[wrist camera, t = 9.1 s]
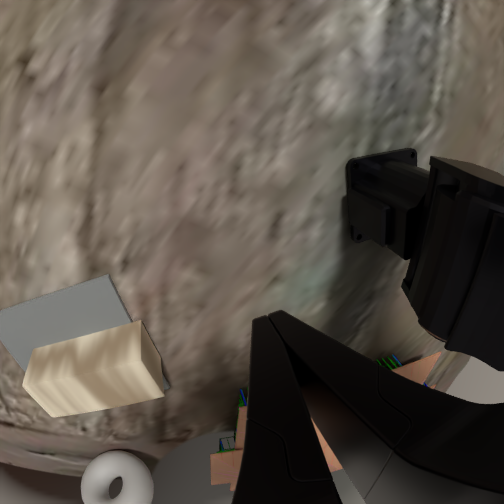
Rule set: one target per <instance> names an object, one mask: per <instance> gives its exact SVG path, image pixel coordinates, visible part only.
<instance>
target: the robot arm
mask: <svg viewBox="0 0 504 504" xmlns="http://www.w3.org/2000/svg"><path fill="white" fill-rule="evenodd" d="M411 153H412V154H411ZM410 154H411V156H410ZM355 163H356V167H355V168H354V169H353V165H354V164H355ZM429 165H431V167H430V171H427V170H425V169H422V168H419V167H417V152H416V150H415V149H412V148H405V149H399V150H394V151H388V152H383V153H377V154H372V155H367V156H362V157H357V158H352V159H350V160H349V161H348V163H347V173H348V187H349V190H348V208H349V223H350V224H351V239H352V240H353V241H354V242H356V243H360V242H363V241H366V240H369V239H372V240H373V241H375V242H376V243H377V244H379V245H380V246H382V247H386V246H387V247H388V248H389V249H391V250H392V251H393V252H395V253H396V254H397V255H399V256H400V257H401V258H403V259H404V260H408V259H410V258H411V259H410V263H409V266H408V270H407V273H406V277H405V278H404V279H403V282H402V285H401V288H402V289H403V291H404V293H405V295H406V296H407V298H408V300H409V302H410V304H411V306H412V308H413V309H414V311H415V313H416V315H417V316H418V318H419V319H418V323H419V324H420V326H421V327H423V328H424V329H425V330H426V331H427V332H428V333H429V334H430V335H432V336H433V337H434V338H436V339H438V340H440V341H442V342H445V343H446V344H445V346H444V348H445V349H446V350H449V351H455V352H462V353H465V354H467V355H470V356H473V357H475V358H477V359H479V360H481V361H483V362H485V363H486V364H488V365H489V366H491V367H493V368H494V369H496V370H498V371H504V176H503V175H501V174H500V173H498V172H495V171H493V170H490V169H487V168H484V167H481V166H478V165H476V164H472V163H468V162H463V161H458V160H452V159H447V158H441V157H435V156H430V163H429ZM358 234H359V236H358V237H357V235H358ZM356 237H357V238H356ZM311 418H312V419H311ZM246 419H247V420H246V426H245V438H244V447H243V454H242V460H241V465H240V470H239V475H238V479H237V483H236V487H235V492H234V495H233V499H232V503H231V504H343V503H342V501H341V499H340V497H339V494H338V492H337V489H336V487H335V484H334V482H333V478H332V475H331V472H330V469H329V467H328V464H327V461H326V458H325V455H324V453H323V450H322V447H321V444H320V441H319V438H318V436H317V433H316V430H315V427H314V424H313V422H312V420H313V421H314V423H315V425H316V426H317V428H318V429H319V431H320V433H321V434H322V436H323V437H324V439H325V441H326V442H327V444H328V445H329V447H330V449H331V450H332V452H333V453H334V455H335V456H336V458H337V460H338V461H339V463H340V464H341V466H342V467H343V469H344V470H345V472H346V474H347V475H348V476H349V478H350V480H351V481H352V483H353V484H354V486H355V487H356V489H357V490H358V492H359V493H360V495H361V496H362V498H363V499H365V500H364V501H365V503H366V504H504V403H498V404H478V403H473V402H469V401H466V400H463V399H460V398H457V397H454V396H451V395H449V394H446V393H443V392H440V391H438V390H435V389H432V388H430V387H427V386H424V385H422V384H419V383H417V382H415V381H412V380H410V379H408V378H405V377H403V376H401V375H399V374H397V373H395V372H393V371H391V370H389V369H388V368H386V367H384V366H382V365H378V363H376V362H374V361H372V360H371V359H369V358H367V357H365V356H363V355H361V354H360V353H358V352H356V351H354V350H352V349H350V348H349V347H347V346H345V345H343V344H341V343H340V342H338V341H336V340H334V339H332V338H331V337H329V336H327V335H325V334H323V333H322V332H320V331H318V330H316V329H315V328H313V327H311V326H309V325H307V324H306V323H304V322H302V321H300V320H299V319H297V318H295V317H293V316H292V315H290V314H288V313H287V312H285V311H283V310H278V311H276V312H273V313H270V314H268V316H266V315H264V316H261V317H258V318H255V319H253V321H252V334H251V350H250V366H249V382H248V398H247V414H246Z"/></svg>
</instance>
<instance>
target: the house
mask: <svg viewBox="0 0 504 504" xmlns="http://www.w3.org/2000/svg"><path fill="white" fill-rule="evenodd" d="M440 354H441V352H438V353H436V354H433V355H431V356H428V357H426V358H423V359H420V360H418V361H415V362H412V363H410V364H407V365H404V366H402V364H401V363H400V362H399V361H398V360H397V358H396V357H395V356H394V355H392V357H393V358H394V359H395V360H396V362H395V363H397V364H399V365H400V366H401V367H397V364H396V365H395V363H394V362H393V361H392V360H391V359H389V357H388V356H387V358H388V359H389V360H390V361H391V364H393V365H394V366H395V368H396V369H392V367H391V366H390V365H391V364H387V363H386V362H385V360H384V359H383V358H382V359H383V361H384V362H385V363H386V364H387V365H386V366H388V367H389V368H390V369H391V371H393V372H395V373H397V374H399V375H401V376H403V377H405V378H408V379H410V380H412V381H415V382H417V383H419V384H422V385H423V384H424V385H425V386H427V385H426V384H425V383H424V382H425V380H426V378H427V377H428V375H429V373H430V372H431V370H432V368H433V366H434V365H435V363H436V361H437V359H438V358H439V356H440ZM377 361H378V360H377ZM378 363H379V364H380V365H381V363H380V362H379V361H378ZM384 367H385V366H384ZM435 386H436V384H435V385H433V386H431V387H430V388H432V389H434V388H435ZM427 387H428V386H427ZM247 390H248V388H247ZM240 392H241V395H242V397H241V395H240V398H241V401H242V404H243V406H242V404H241V401H240V399H239V402H240V404H238V405H239V408H238V411H239V412H238V417H237V418H238V420H237V424H236V425H237V426H236V430H235V431H236V432H235V431H234V436H232V437H233V438H234V441H235V448H233V449H232V450H231V449H230V450H226V449H225V450H226V451H224V448H223V444H222V441H221V439H224V438H220V439H219V452H217V453H216V454H210V465H211V485H215V484H225V483H231V484H230V491H234V490H235V487H236V483H237V479H238V475H239V470H240V465H241V460H242V454H243V447H244V438H245V426H246V420H247V419H246V414H247V402H246V400H245V399H247V398H245V397H244V394H243V391H242V389H240ZM242 398H243V400H242ZM244 403H245V406H244ZM240 405H241V407H240ZM311 419H312V418H311ZM312 422H313V424H314V427H315V430H316V433H317V436H318V438H319V441H320V444H321V447H322V450H323V453H324V455H325V458H326V461H327V464H328V467H329V469H330V472H333V471H336V470H340V469H342V468H343V467H342V466H341V464H340V463H339V461H338V460H337V458H336V456H335V455H334V453H333V452H332V450H331V449H330V447H329V445H328V444H327V442H326V441H325V439H324V437H323V436H322V434H321V433H320V431H319V429H318V428H317V426H316V425H315V423H314V421H313V420H312ZM235 435H236V436H235ZM226 438H231V437H226ZM227 441H228V440H227ZM228 444H229V443H228Z"/></svg>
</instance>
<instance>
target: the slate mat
mask: <svg viewBox="0 0 504 504" xmlns="http://www.w3.org/2000/svg"><path fill="white" fill-rule="evenodd" d="M132 322H133V321H132V319H131V317H130V316H129V314H128V312H127V310H126V308H125V306H124V304H123V302H122V300H121V298H120V296H119V294H118V292H117V290H116V288H115V286H114V284H113V281H112V279H111V277H110V275H109V274H107V275H104V276H101V277H98V278H95V279H92V280H89V281H86V282H83V283H80V284H77V285H74V286H71V287H68V288H65V289H62V290H59V291H56V292H53V293H50V294H47V295H44V296H41V297H38V298H35V299H32V300H29V301H26V302H23V303H20V304H17V305H15V306H12V307H9V308H6V309H3V310H0V340H1V342H2V343H3V344H4V346H5V347H6V348H7V350H8V351H9V352H10V354H11V355H12V356H13V358H14V359H15V360H16V361H17V363H18V364H19V365H20V366H21V368H22V369H23V370H24V371H25V372H26V370H27V367H28V364H29V361H30V357H31V354H32V351H33V349H35V348H39V347H43V346H47V345H51V344H54V343H58V342H62V341H66V340H70V339H74V338H77V337H81V336H85V335H89V334H92V333H96V332H100V331H103V330H107V329H111V328H114V327H118V326H121V325H125V324H128V323H132ZM162 378H163V387H164V390H166V389H169V388H170V385H169V383H168V382H167V380H166V379H165V377H164V375H163V374H162Z"/></svg>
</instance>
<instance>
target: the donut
mask: <svg viewBox="0 0 504 504" xmlns="http://www.w3.org/2000/svg"><path fill="white" fill-rule="evenodd" d="M119 476H121V477H122V480H123V488H122V490H121V493H120V494H119V495H118V496H117V497H116V498H114V499H110V497H109V494H108V489H109V485H110V483H111V482H112V480H113V479H115V478H116V477H119ZM81 493H82V499H83V501H84V503H85V504H151V502H152V498H153V495H154V483H153V480H152V476H151V473H150V471H149V469H148V468H147V466H146V465H145V463H144V462H143V461H142V460H141V459H139V458H138V457H136V456H135V455H134V454H132V453H129V452H125V451H122V450H116V451H107V452H105V453H103V454H100V455H99V456H97V457H96V458H95V459H94V460H92V461H91V462H90V464H89V465H88V466H87V468H86V469H85V472H84V474H83V477H82V483H81Z"/></svg>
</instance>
